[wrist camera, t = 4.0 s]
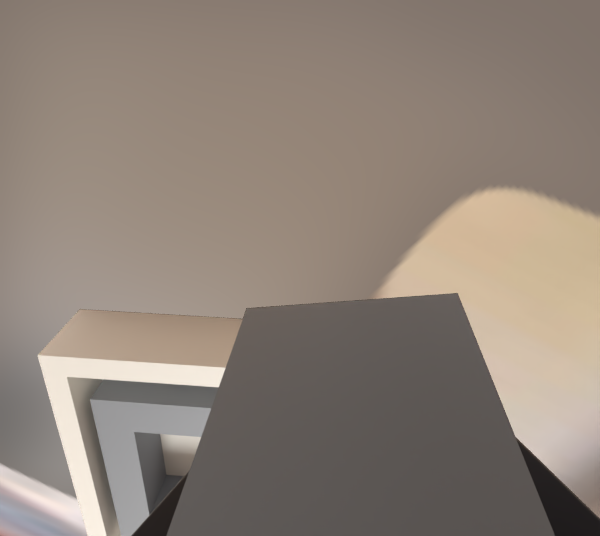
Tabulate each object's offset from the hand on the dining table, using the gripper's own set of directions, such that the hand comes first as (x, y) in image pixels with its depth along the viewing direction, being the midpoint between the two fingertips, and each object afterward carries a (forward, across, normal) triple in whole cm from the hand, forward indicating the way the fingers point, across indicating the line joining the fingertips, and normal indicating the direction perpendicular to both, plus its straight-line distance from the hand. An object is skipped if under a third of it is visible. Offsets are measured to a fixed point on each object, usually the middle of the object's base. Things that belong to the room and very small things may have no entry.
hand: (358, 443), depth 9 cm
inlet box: (+12, +8, +13) cm, 19 cm away
